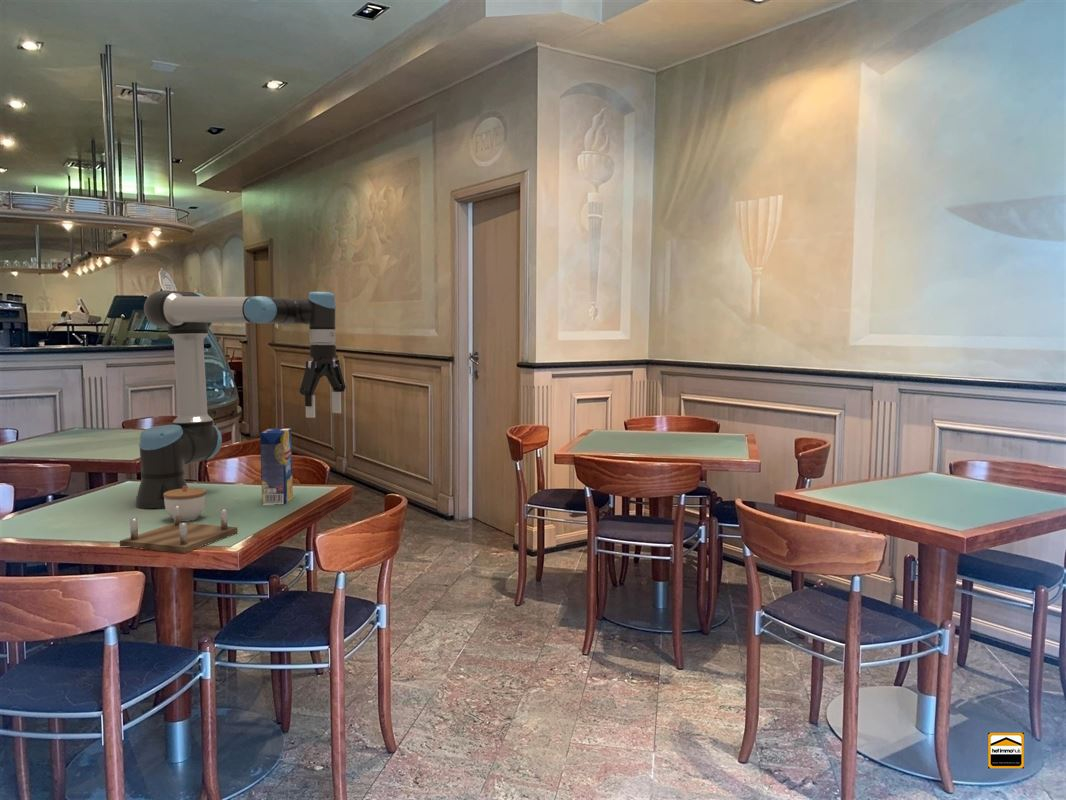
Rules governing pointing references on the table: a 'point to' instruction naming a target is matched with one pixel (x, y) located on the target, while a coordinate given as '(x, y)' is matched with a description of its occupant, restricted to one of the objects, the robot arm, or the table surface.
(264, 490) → the beverage box
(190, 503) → the lidded jar
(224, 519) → the corner pegs
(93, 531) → the table surface
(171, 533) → the peg board
